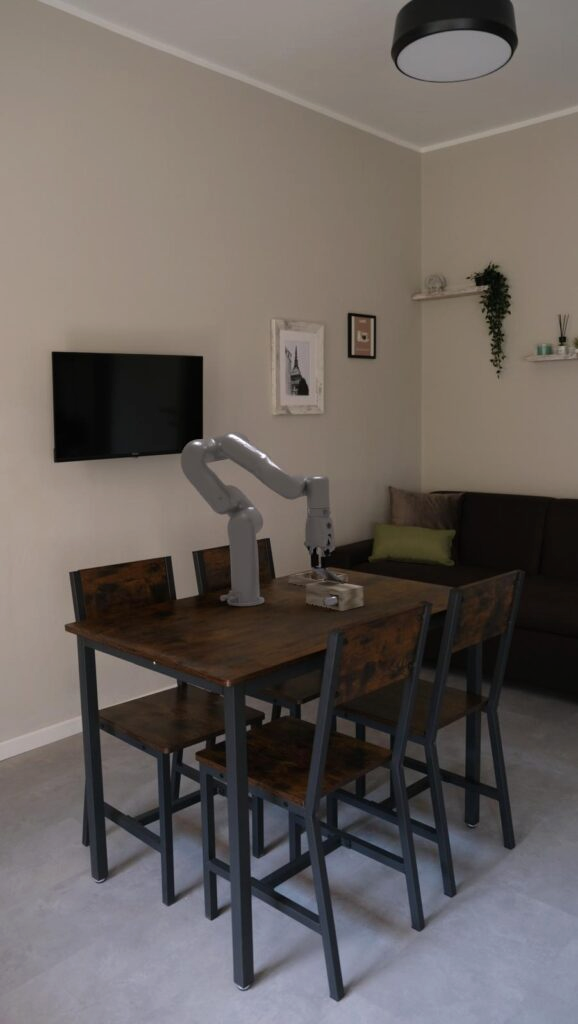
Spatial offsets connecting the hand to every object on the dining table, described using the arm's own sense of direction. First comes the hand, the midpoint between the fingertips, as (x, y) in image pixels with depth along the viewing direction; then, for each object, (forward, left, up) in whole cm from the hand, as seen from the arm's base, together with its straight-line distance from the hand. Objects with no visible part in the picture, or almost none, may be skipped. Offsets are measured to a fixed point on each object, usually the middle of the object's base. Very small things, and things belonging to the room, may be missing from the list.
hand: (319, 566), depth 278 cm
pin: (+1, -9, -12) cm, 15 cm away
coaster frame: (+25, +27, -13) cm, 39 cm away
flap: (+3, 0, -3) cm, 4 cm away
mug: (+27, +26, -13) cm, 40 cm away
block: (+3, -4, -13) cm, 14 cm away
